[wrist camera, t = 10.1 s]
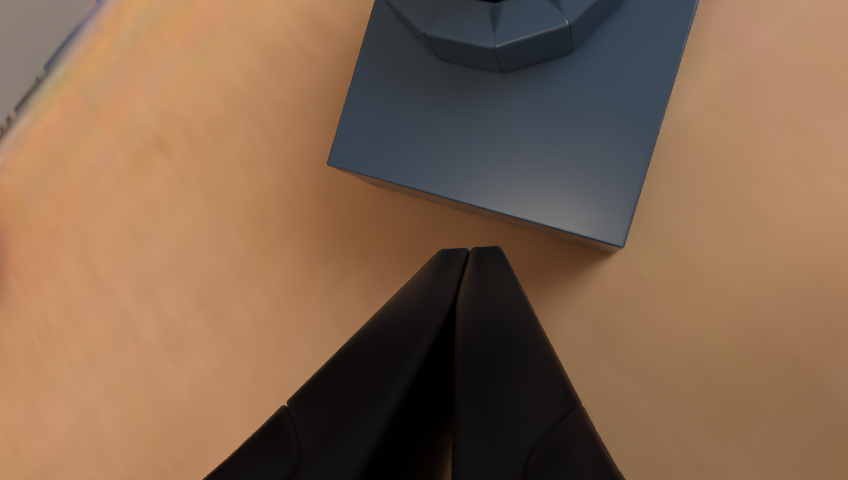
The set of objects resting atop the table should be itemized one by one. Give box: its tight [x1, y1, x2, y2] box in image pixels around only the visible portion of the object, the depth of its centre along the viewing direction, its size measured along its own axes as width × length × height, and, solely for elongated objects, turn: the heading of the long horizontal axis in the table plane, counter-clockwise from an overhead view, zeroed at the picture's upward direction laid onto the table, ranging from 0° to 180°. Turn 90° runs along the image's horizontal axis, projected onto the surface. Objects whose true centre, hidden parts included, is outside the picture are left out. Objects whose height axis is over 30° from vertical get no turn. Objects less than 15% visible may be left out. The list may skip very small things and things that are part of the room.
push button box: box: [327, 0, 699, 254], centre depth 19 cm, size 11×9×6 cm
